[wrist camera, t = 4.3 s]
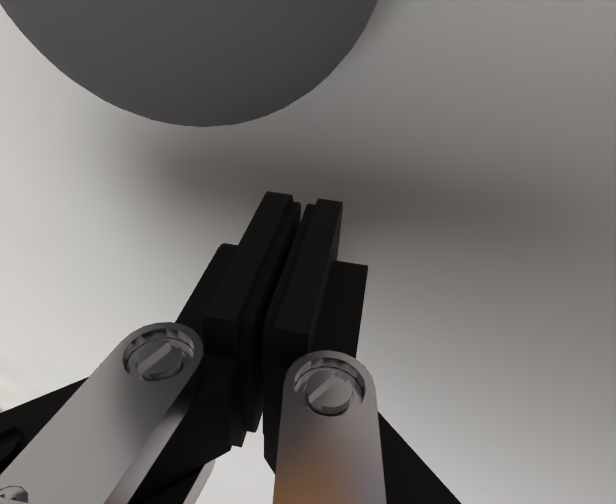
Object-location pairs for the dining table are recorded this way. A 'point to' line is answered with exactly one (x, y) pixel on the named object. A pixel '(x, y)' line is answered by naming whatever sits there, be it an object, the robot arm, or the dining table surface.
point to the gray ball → (194, 51)
